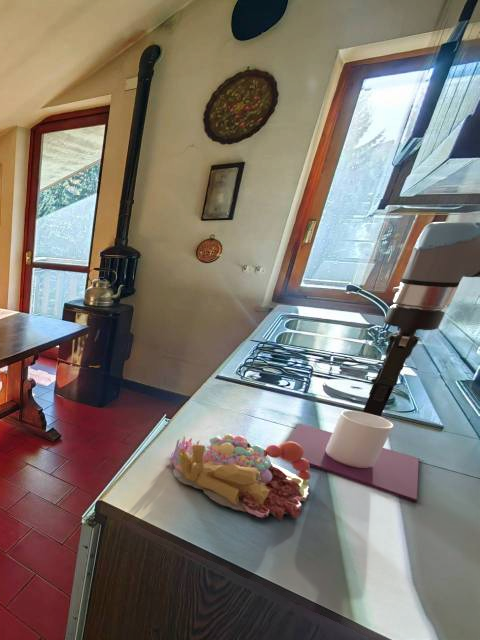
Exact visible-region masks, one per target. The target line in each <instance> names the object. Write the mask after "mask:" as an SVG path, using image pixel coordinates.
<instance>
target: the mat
mask: <svg viewBox="0 0 480 640" xmlns="http://www.w3.org/2000/svg"><path fill="white" fill-rule="evenodd" d="M332 433H333V432H330V431H328V430H324V429H320V428H317V427H314V426H310V425H307V424H303V423H298V424H297V426H296V427H295V428H294V430H293V431H292V433H291V434H290V436H289V438H288V439H287V441H286V442H289V441H291V442H295V443H297V444H299V445H300V446H301V447H302V449H303V451H304V455H303V457H302V458H304V459H306V460H307V461H308V462H309V464H310V467H312V468H316V469H318V470H322V471H325V472H327V473H331V474H333V475H335V476H339V477H341V478H344V479H348V480H351V481H354V482H357V483H360V484H362V485H365V486H368V487H371V488H373V489H377V490H379V491H382V492H385V493H388V494H391V495H394V496H397V497H400V498H403V499H406V500H409V501H411V502H414V503H417V501H418V489H419V487H418V485H419V463H420V458H419V457H416V456H412V455H409V454H405V453H402V452H399V451H395V450H392V449H389V448H386V447H383V448H382V450H381V452H380V454H379V456H378V458H377V460H376V462H375V464H374V465H373V466H372V467H369V468H357V467H353V466H349V465H346V464H343V463H340V462H338V461H336V460H334V459H332V458H331V457H329V456H328V455H327V453H326V447H327V445H328V442H329V440H330V438H331V435H332Z"/></svg>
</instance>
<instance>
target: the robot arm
mask: <svg viewBox="0 0 480 640" xmlns="http://www.w3.org/2000/svg"><path fill="white" fill-rule="evenodd" d="M463 277H464V278H480V221H437V222H436V221H435V222H431V223H429V224H427V225H425V226H424V227H423V229H422V230H421V232H420V234H419V236H418V238H417V240H416V241H415V244H414V246H413V248H412V252H411V254H410V257H409V260H408V262H407V265H406V267H405V269H404V273H403V275H402V278H401V279H400V282H399V286H396V287H394V286H393V288H392V289H391V292H394V293H395V294H394V297H393V298H392V303H393V304H392V305H391V306H389V307H388V310H387V312H386V314H385V317H384V320H383V322H384V324H386V325H388V326H391V327H397V330H396V332H391V333H390V335H389V338H388V341H387V346H386V350H385V353H384V355H385V357H384V358H383V362H382V363H381V367H380V368H379V370H378V373H377V375H376V377H375V378H372V379H371V380H370V384H372V385H371V387H370V390H369V393H368V395H369V396H368V398H367V401H366V403H365V405H364V407H363V410H362V412H364V413H368V414H372V415H376V416H379V417H382V415H383V412H384V410H385V408H386V405H387V404H388V401H389V399H390V397H391V394H392V392H393V390H394V388H395V387H396V385H397V384H398V378H399V376H400V374H401V371H402V370H403V368H404V366H405V362H406V360H407V359H409V358H410V356H411V355H412V352H413V350H414V348H416V347H417V345H418V343H419V340H420V335H416V333H417V331H419V330H420V331H434V330H437V329H438V328H439V327H440V325H441V323H442V321H443V319H444V316H445V314H446V312H445V310H444V309H446V308H449V307H450V305H451V303H452V301H453V299H454V296H455V295H456V292H457V290H458V288H459V285H460V283H461V281H462V279H463Z"/></svg>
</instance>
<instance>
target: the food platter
mask: <svg viewBox="0 0 480 640" xmlns="http://www.w3.org/2000/svg"><path fill="white" fill-rule="evenodd" d="M180 440H181V439H180V438H179V439H177V440H176V444H175V448H174V450H173V451H172V453H171V456H170V460H169V461H170V465H169V466H170V467H171V466H172V465H173V467H174V469H173V470H172V474H173V476H174V478H176V479H177V480H178V482H181V483H182V484H184V485H187V486H191V487H193V488H195V489H199V490H202V491H203V494H204V495H206V496H208V498H209V499H210V500H212V501H214V502H215V503H217V504H219V505H221V506H225V507H228V508H231V509H233V510H236V511H241V512H244V513H246V512H247V513H249V514H251V515H255V516H256V517H258V518H260V519H261V518H266V517H268V516H269V515H270V514H271V515H272V516H273V517H274V518H276V519H277V520H279V521H280V522H282V520H283V517H284V514H287V515H290V516H291V517H292V518H293V519H297V518H298V517H299V516H300V515H301V514H302V513H303V511H302V510H301V507H302V503H301V501H302V502H305V501H306V499H307V498H308V496H309V495H310V494H309V492H308V491H309V485H308V484H309V482H310V481H309V480H310V478H311V476H312V475H311V473H310V472H309V469H310V467H311V466H310V464H309V462H308V461H307V460H306V459H304V458H302V457H303V455H304V451H303V449H302V447H301V446H300V445H299V444H297V443H295V442H291V441H289V442H287V441H284V442H282V443H281V444H279V445H277V444H269V445H268V446H267V447H266V449H265V448H263V447H261V446H260V445H258V444H250V442H248V440H247V439H246V437H244V436H243V435H233V434H230V433H226V434H224V436H223V437H220V436H219V435H216V436H212V437H211V438H209V444H207V445H206V446H205V445H201V443H200V440H198V441H196V444H195V443H193V444H192V441H193V437H191V438H189V439H188V440H186V436H185V435H184V436H183V438H182V440H181V441H180ZM199 443H200V444H199ZM269 457H270V458H273V459H276V458H277V459H278V458H281V459H282V460H283V461H285V462H290V463H291V464H292V469H294V470H295V471H297V472H298V473H297V475H298V476H297V475H296V474H295V473H292V472H291V471H289V470H287V469H286V468H283V467H281V466H279V465H277V464H274V463H272V461H271V459H270V458H269Z"/></svg>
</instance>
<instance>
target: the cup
mask: <svg viewBox="0 0 480 640" xmlns="http://www.w3.org/2000/svg"><path fill="white" fill-rule="evenodd" d="M393 429H394V424H393V423H392V422H391V421H390V420H387V419H385V418H383V417H382V416H377V415H372V414H368V413H364V412H363V411H358V410H343V411H341V412H340V415H339V417H338V419H337V422H336V423H335V426H334V428H333V431H332V432H331V433H332V435H331V438H330V440H329V442H328V445H327V447H326V453H327V455H328V456H329V457H331V458H332V459H334V460H336V461H338V462H340V463H343V464H346V465H349V466H353V467H357V468H369V467H372V466H373V465H374V464H375V462H376V460H377V458H378V456H379V454H380V452H381V450H382V448H384V447H385V444H386V442H387V440H388V438H389V437H390V434H391V432H392V430H393Z"/></svg>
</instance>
